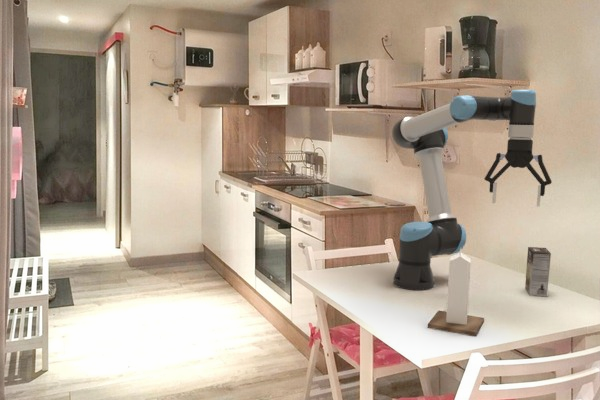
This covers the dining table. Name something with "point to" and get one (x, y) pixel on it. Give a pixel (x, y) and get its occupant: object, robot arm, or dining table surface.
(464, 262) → the milk
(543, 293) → the coffee box
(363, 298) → the dining table surface
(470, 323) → the walnut board
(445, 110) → the robot arm
